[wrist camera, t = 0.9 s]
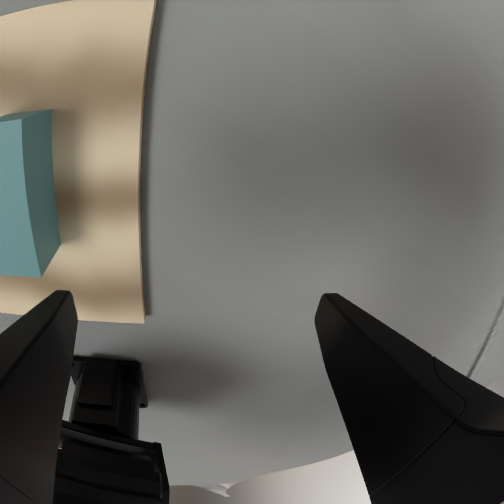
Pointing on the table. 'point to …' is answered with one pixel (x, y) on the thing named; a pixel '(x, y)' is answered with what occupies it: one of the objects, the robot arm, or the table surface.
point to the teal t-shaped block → (27, 194)
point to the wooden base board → (85, 146)
